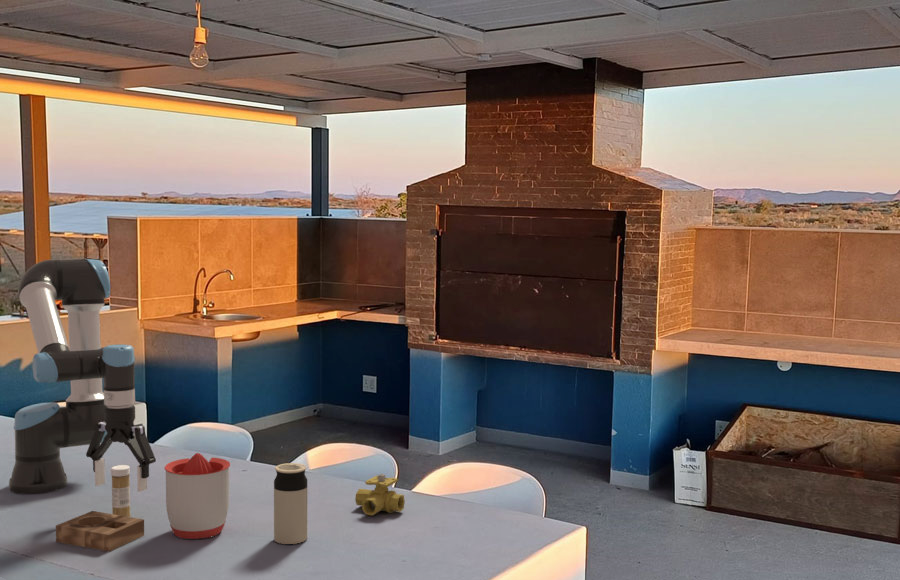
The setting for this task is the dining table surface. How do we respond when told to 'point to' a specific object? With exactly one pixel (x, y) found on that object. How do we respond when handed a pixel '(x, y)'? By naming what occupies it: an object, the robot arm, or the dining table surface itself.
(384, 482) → the ball valve
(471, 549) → the dining table surface
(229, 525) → the dining table surface
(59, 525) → the socket block
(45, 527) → the dining table surface
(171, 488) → the citrus juicer
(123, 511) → the sprinkles bottle
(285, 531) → the travel mug
